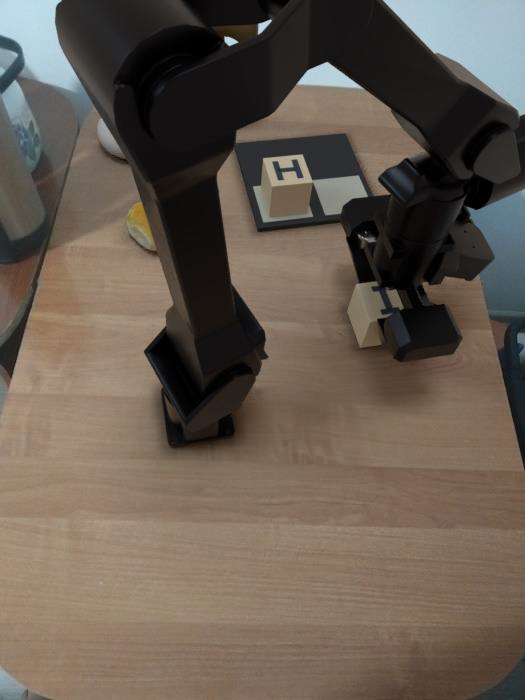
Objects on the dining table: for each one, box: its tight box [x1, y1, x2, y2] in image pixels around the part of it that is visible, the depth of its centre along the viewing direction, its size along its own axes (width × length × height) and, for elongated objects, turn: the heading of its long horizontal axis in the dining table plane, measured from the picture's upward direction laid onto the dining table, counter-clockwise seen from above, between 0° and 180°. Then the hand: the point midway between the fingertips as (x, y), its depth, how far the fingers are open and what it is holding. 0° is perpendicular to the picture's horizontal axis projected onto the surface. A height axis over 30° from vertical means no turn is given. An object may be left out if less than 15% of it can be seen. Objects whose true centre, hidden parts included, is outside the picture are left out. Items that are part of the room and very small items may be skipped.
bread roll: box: [126, 201, 157, 252], centre depth 67 cm, size 8×9×4 cm
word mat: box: [234, 133, 374, 232], centre depth 74 cm, size 16×16×1 cm
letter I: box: [346, 281, 404, 349], centre depth 60 cm, size 5×5×5 cm
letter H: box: [261, 155, 313, 217], centre depth 69 cm, size 5×5×5 cm
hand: (376, 321), depth 62 cm, fingers open, 7 cm apart
